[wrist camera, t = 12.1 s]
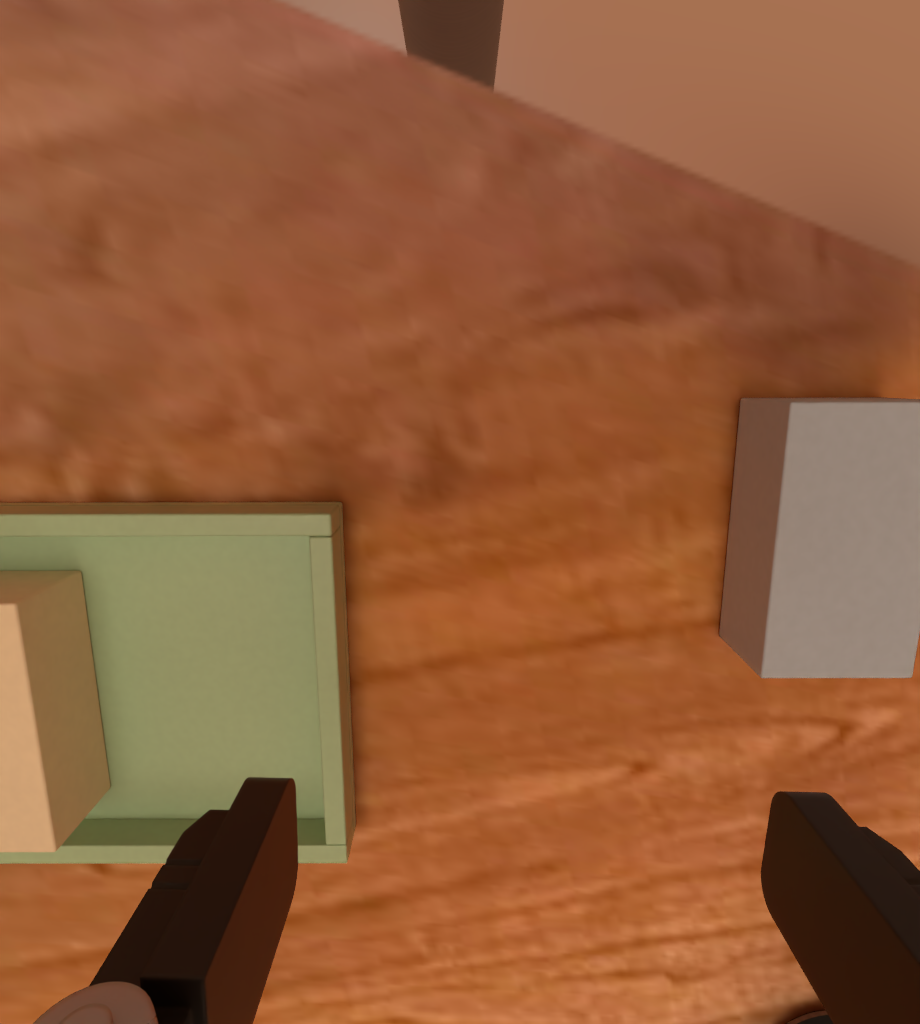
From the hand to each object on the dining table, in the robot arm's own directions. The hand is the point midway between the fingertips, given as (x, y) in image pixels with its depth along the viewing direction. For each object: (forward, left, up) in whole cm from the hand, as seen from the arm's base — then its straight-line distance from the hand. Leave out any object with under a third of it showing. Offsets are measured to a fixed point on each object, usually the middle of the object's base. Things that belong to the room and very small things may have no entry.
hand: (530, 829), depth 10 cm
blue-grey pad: (-2, +11, -13) cm, 18 cm away
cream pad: (+4, -18, -13) cm, 22 cm away
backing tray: (+4, -15, -13) cm, 20 cm away
